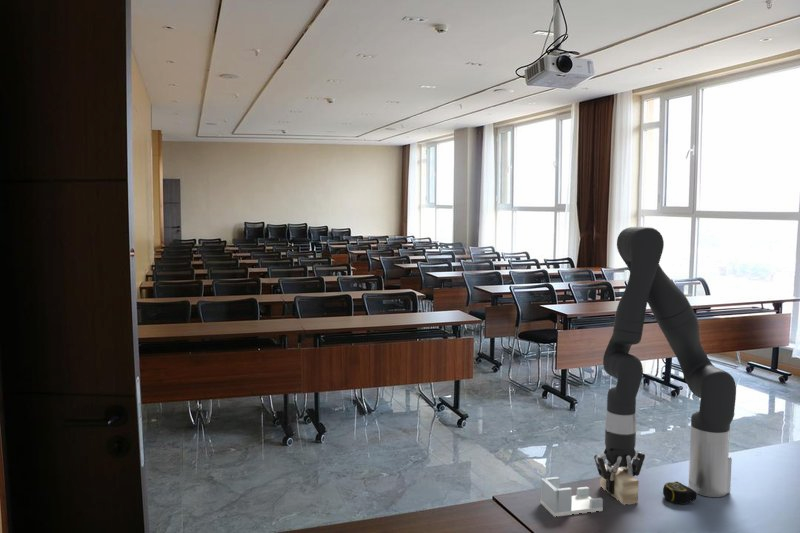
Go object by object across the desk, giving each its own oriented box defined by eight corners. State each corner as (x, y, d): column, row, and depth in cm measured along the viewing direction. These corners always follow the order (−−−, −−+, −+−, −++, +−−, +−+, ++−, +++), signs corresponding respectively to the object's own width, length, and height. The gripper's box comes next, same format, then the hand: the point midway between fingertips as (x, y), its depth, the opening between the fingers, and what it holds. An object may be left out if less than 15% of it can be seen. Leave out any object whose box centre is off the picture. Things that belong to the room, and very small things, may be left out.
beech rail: (600, 486, 172) (600, 465, 171) (613, 485, 173) (614, 463, 172) (623, 505, 161) (624, 482, 160) (637, 503, 162) (638, 480, 161)
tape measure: (697, 504, 162) (698, 490, 161) (675, 508, 160) (676, 493, 159) (678, 493, 168) (679, 479, 168) (656, 496, 166) (657, 482, 166)
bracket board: (587, 497, 165) (587, 473, 164) (602, 511, 158) (603, 485, 157) (540, 503, 162) (541, 478, 161) (554, 516, 155) (554, 490, 154)
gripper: (636, 421, 170) (634, 483, 172) (588, 425, 167) (586, 488, 169) (653, 430, 163) (651, 495, 165) (603, 435, 160) (601, 501, 161)
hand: (618, 491), depth 167 cm, fingers closed on beech rail, 4 cm apart
